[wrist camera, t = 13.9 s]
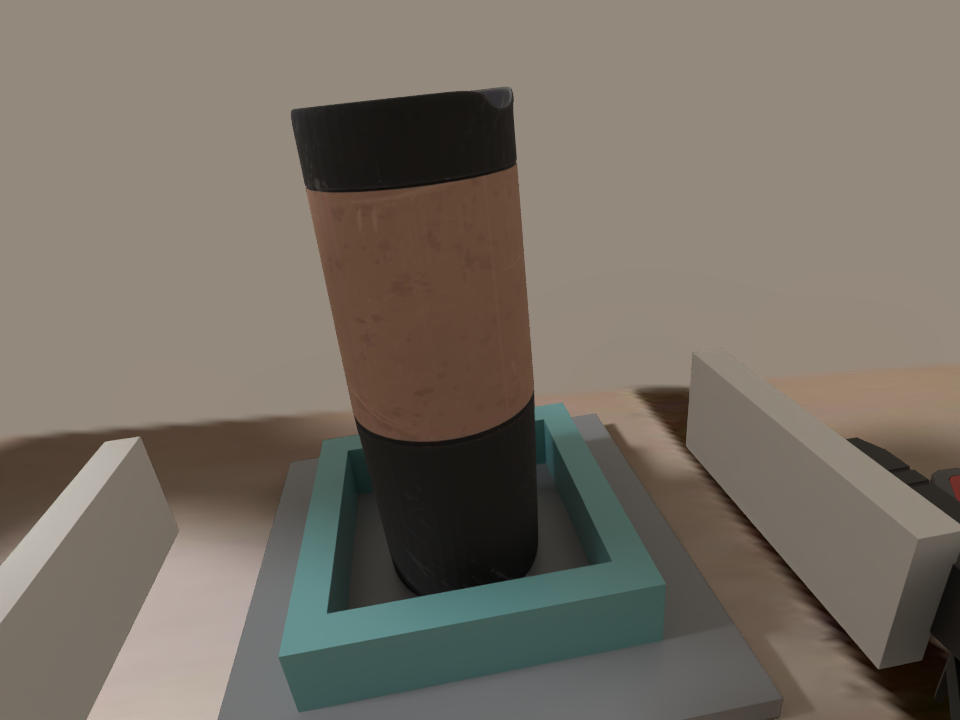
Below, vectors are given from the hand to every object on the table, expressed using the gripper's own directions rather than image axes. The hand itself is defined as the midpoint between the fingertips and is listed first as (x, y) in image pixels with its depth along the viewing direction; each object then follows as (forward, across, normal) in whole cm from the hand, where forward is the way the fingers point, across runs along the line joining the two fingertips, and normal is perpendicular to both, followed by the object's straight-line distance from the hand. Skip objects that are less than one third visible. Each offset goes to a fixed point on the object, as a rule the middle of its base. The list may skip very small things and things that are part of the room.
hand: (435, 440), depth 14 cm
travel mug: (+10, +1, -13) cm, 16 cm away
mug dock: (+10, 0, -13) cm, 17 cm away
